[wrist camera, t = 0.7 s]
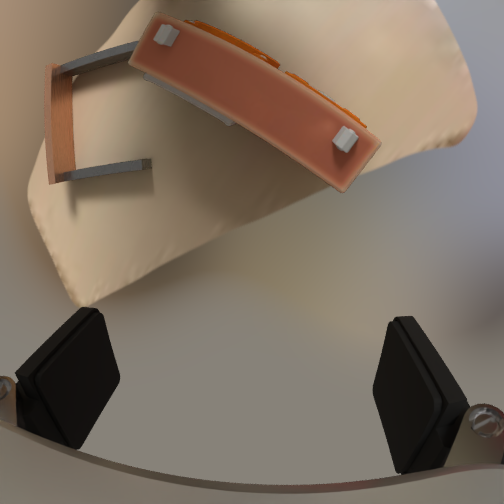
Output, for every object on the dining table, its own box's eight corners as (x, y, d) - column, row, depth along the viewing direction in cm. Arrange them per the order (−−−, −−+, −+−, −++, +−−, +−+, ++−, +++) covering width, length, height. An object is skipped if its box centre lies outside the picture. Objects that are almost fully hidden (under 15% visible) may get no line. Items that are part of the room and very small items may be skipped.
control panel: (362, 122, 33) (392, 138, 20) (328, 167, 36) (337, 209, 23) (210, 30, 31) (152, 0, 18) (182, 76, 34) (113, 73, 21)
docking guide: (66, 71, 33) (45, 65, 28) (147, 47, 32) (131, 36, 27) (70, 179, 38) (49, 184, 34) (151, 167, 37) (135, 171, 32)
